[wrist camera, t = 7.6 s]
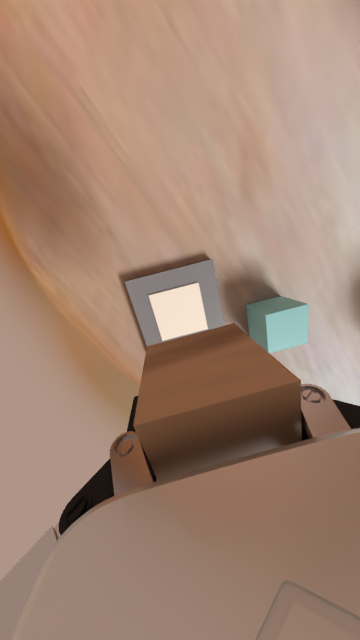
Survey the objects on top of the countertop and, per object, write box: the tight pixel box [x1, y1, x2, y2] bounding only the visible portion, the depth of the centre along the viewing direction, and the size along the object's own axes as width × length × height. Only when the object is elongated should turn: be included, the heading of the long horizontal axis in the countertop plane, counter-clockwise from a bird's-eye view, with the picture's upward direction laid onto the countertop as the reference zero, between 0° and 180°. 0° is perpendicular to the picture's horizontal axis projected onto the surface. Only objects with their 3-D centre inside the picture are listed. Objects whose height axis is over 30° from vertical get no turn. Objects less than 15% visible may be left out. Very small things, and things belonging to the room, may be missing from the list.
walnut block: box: [133, 323, 302, 481], centre depth 10 cm, size 6×6×6 cm
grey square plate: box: [125, 259, 224, 346], centre depth 28 cm, size 13×13×1 cm
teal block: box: [246, 296, 308, 353], centre depth 27 cm, size 6×6×6 cm
